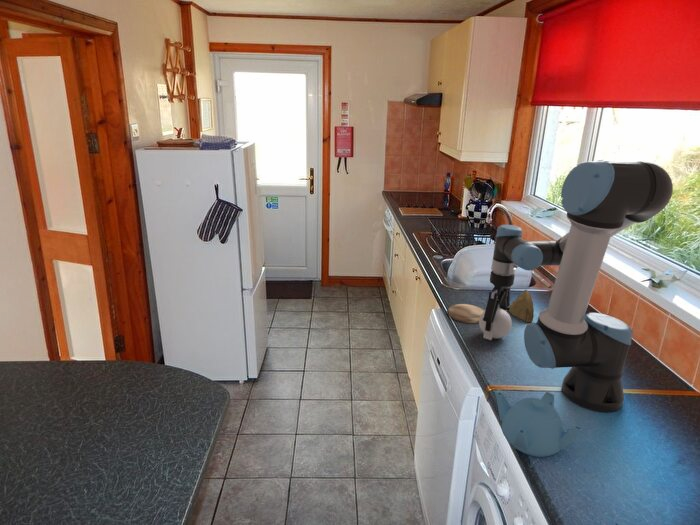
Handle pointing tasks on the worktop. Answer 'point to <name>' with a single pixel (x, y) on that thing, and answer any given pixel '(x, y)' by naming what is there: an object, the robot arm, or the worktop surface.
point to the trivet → (465, 313)
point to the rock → (523, 307)
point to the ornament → (498, 323)
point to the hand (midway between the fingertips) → (493, 332)
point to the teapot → (534, 425)
